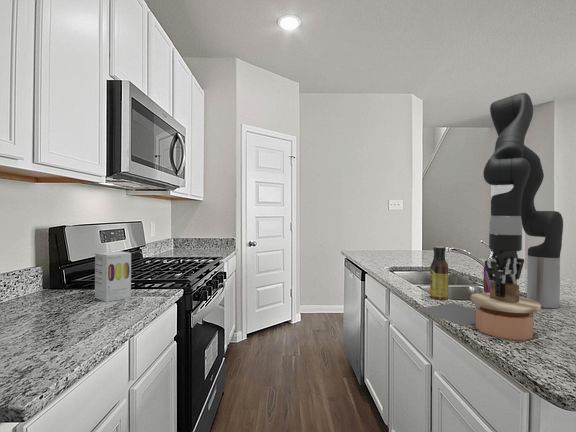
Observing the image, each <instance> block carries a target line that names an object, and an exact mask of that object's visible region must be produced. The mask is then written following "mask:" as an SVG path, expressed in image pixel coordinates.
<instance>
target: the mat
mask: <svg viewBox="0 0 576 432" xmlns="http://www.w3.org/2000/svg"><path fill="white" fill-rule="evenodd" d="M414 310H415V311H418V312H421V313H424V314H427V315H430V316H433V317H434V318H435V317H436V318H438V319H441V320H444V321H447V322H450V323H453V324H456V325H459V326H461V327H465V326H466V327H467V326H471V325H476V308H471V307H468V306H465V305H460V304H457V303H454V302H451V303H446V304H445V303H444V304H438V305H432V306H431V305H430V306H425V307H419V308H414Z"/></svg>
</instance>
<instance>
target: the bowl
mask: <svg viewBox="0 0 576 432" xmlns="http://www.w3.org/2000/svg"><path fill="white" fill-rule="evenodd" d="M475 310H476V324H475V329H477V330H478V331H479V332H481V333H483V334H485V335H489V336H492V337H496V338H501V339H506V340H515V341H517V340H518V341H523V343H526V341H527V342H530V340H531V341H534V339H533V338H534V313H511V312H503V311H497V310H492V309H487V308H484V307H480V306H478V305H476V308H475Z"/></svg>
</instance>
